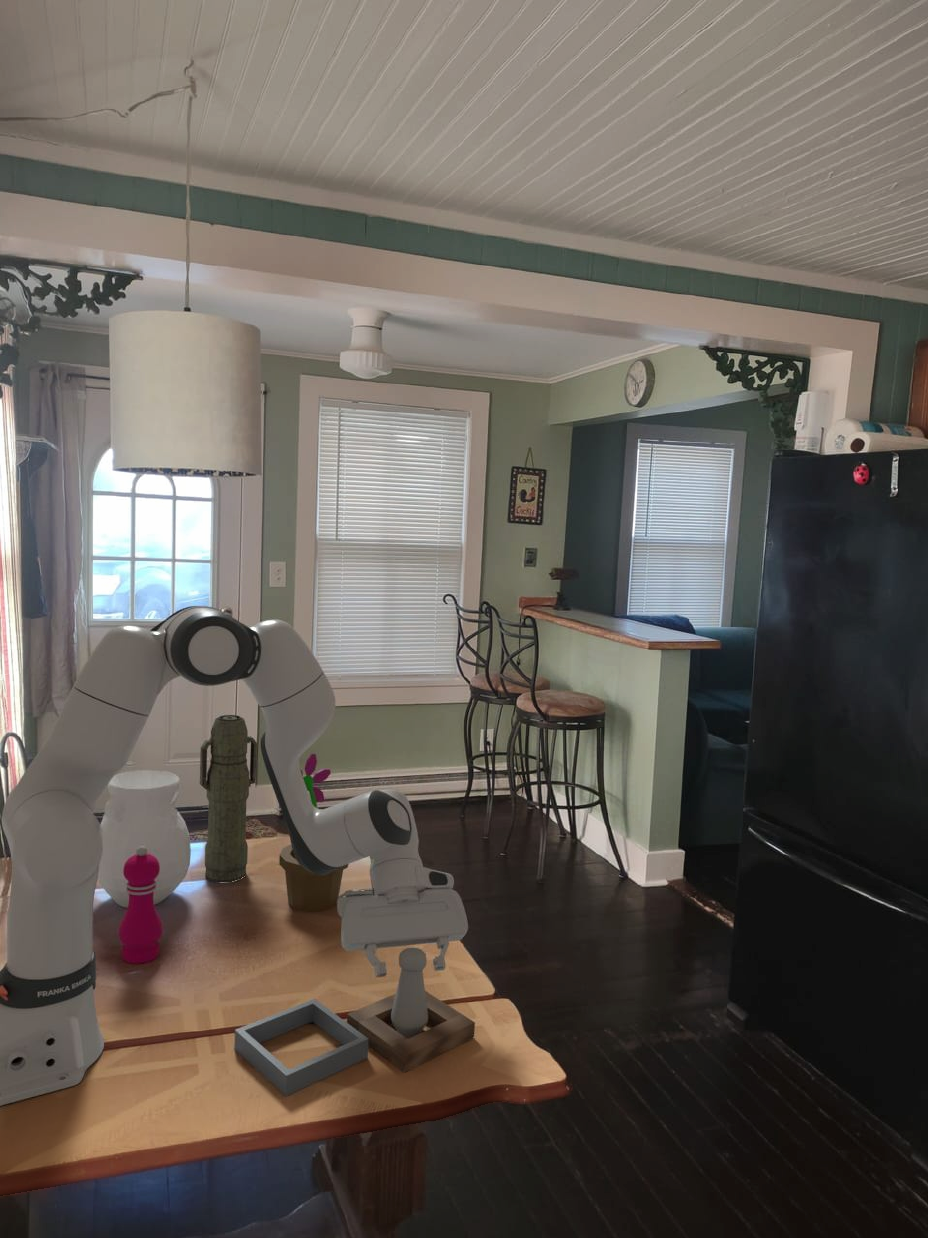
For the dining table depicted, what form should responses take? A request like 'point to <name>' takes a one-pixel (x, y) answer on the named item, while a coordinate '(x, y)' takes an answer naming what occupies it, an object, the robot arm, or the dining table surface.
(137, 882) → the pepper mill
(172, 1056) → the dining table surface
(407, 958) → the salt shaker
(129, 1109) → the dining table surface
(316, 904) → the flowerpot
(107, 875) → the pitcher
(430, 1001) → the brown square frame
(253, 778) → the thermos
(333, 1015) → the blue square frame
